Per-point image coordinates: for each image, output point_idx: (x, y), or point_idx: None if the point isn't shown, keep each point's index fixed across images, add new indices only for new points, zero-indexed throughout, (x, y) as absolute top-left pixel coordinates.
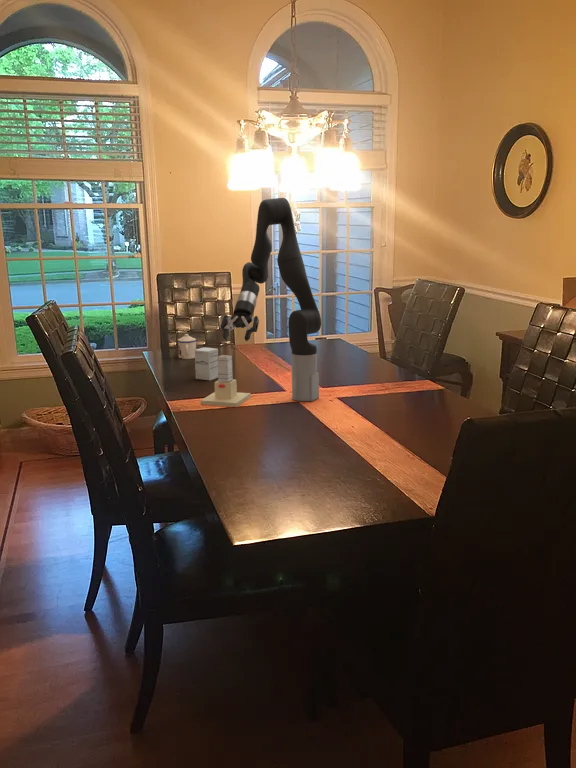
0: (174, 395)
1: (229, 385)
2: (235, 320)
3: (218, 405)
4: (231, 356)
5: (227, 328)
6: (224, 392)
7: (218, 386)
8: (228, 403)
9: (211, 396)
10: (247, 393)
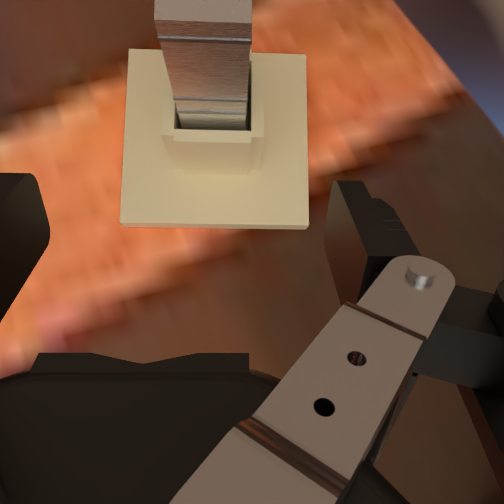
0: (490, 172)
1: None
2: (250, 421)
3: None
4: (155, 18)
5: (381, 279)
6: None
7: None
8: None
9: (287, 124)
10: (133, 215)
